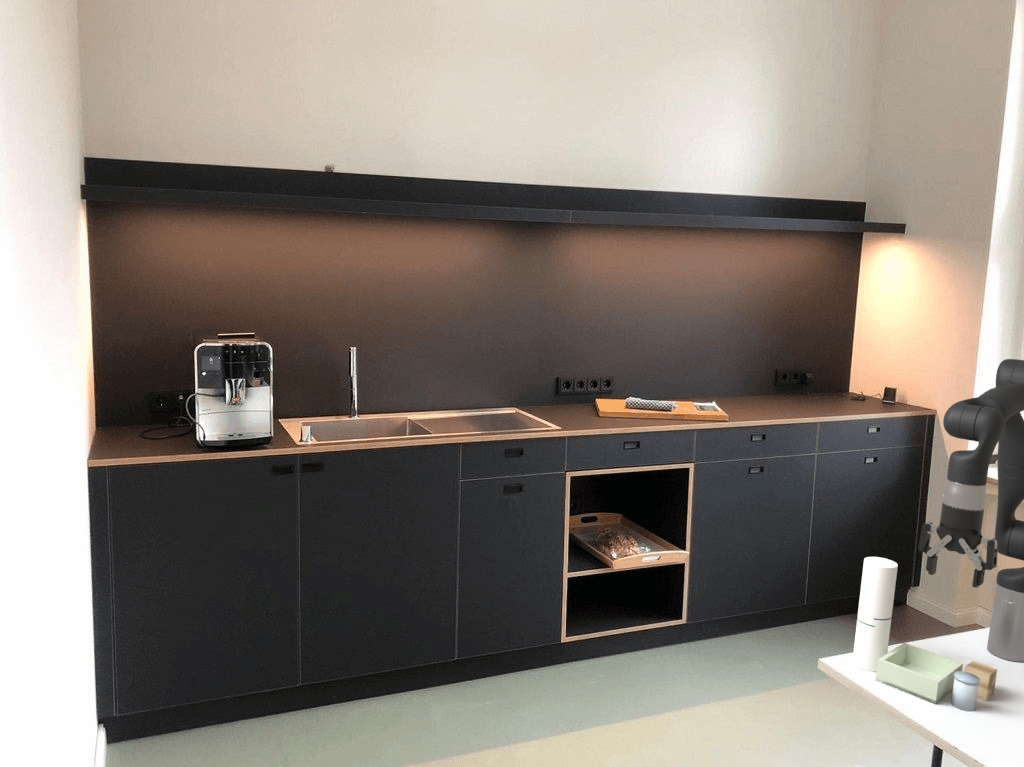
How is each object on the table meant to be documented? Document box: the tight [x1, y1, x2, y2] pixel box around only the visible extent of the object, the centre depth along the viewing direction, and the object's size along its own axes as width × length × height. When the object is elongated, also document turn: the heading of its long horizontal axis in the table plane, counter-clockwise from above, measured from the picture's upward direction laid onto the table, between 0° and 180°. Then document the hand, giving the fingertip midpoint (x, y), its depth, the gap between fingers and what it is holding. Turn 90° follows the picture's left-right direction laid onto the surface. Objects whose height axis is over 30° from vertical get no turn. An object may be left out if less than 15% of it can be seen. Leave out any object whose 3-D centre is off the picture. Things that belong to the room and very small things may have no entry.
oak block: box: [963, 660, 998, 702], centre depth 187 cm, size 5×5×6 cm
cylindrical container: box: [852, 556, 898, 673], centre depth 197 cm, size 7×7×25 cm
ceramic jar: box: [950, 670, 980, 712], centre depth 181 cm, size 5×5×7 cm
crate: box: [875, 642, 964, 705], centre depth 191 cm, size 14×13×5 cm
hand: (953, 580), depth 174 cm, fingers open, 8 cm apart
